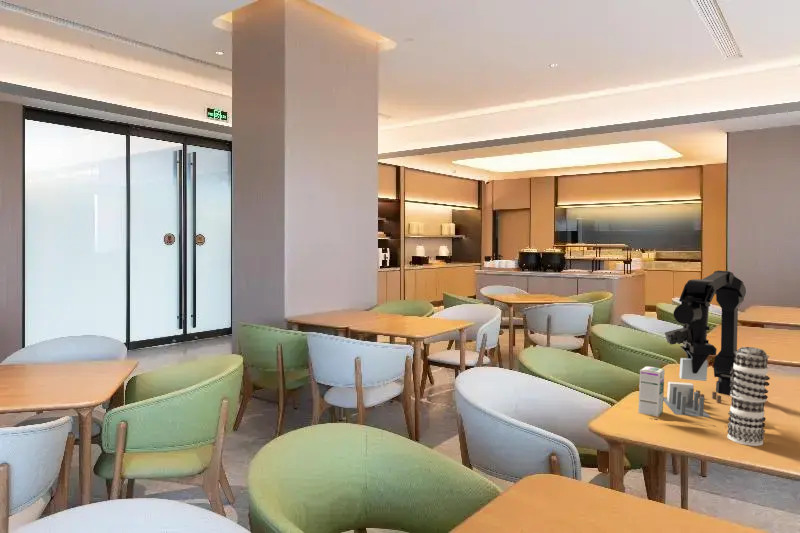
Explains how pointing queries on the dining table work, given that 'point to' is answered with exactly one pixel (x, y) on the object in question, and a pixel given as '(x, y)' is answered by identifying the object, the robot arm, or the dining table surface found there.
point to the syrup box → (651, 391)
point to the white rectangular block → (679, 389)
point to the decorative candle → (748, 396)
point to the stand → (712, 396)
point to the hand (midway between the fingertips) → (693, 372)
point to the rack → (682, 407)
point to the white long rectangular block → (687, 370)
